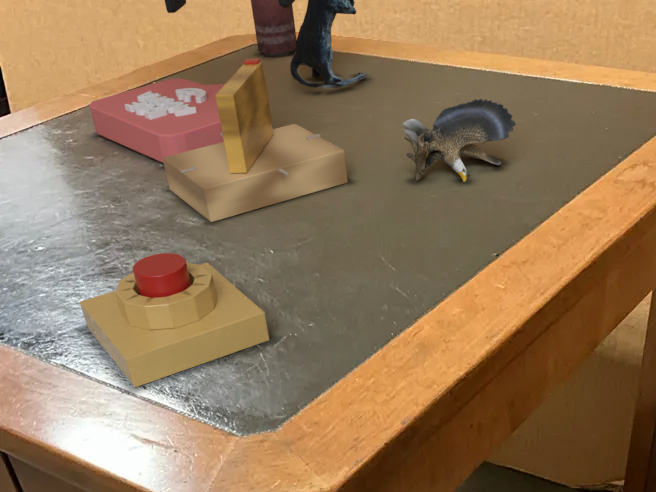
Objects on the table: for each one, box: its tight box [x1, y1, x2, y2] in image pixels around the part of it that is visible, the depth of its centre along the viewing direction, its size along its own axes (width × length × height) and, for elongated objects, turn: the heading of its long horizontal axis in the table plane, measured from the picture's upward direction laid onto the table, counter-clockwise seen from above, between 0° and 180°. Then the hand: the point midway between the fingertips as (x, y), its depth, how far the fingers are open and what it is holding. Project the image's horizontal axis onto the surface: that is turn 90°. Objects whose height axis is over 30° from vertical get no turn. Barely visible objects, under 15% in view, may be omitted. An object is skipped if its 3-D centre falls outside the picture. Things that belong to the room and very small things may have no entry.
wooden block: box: [215, 58, 274, 173], centre depth 81 cm, size 10×2×7 cm, turn 173°
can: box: [250, 0, 297, 58], centre depth 116 cm, size 5×5×12 cm
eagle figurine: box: [402, 98, 517, 183], centre depth 82 cm, size 8×7×9 cm
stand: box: [162, 123, 349, 223], centre depth 84 cm, size 14×14×3 cm
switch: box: [79, 261, 270, 388], centre depth 63 cm, size 10×10×4 cm
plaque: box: [88, 78, 226, 163], centre depth 96 cm, size 18×4×15 cm
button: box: [132, 252, 191, 298], centre depth 61 cm, size 4×4×2 cm
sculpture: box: [289, 0, 367, 90], centre depth 103 cm, size 8×11×15 cm
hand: (232, 6), depth 75 cm, fingers open, 9 cm apart
